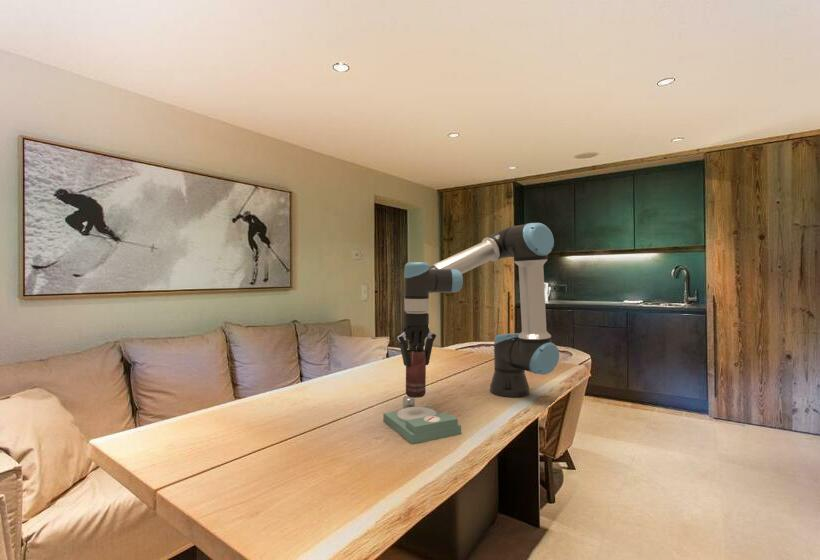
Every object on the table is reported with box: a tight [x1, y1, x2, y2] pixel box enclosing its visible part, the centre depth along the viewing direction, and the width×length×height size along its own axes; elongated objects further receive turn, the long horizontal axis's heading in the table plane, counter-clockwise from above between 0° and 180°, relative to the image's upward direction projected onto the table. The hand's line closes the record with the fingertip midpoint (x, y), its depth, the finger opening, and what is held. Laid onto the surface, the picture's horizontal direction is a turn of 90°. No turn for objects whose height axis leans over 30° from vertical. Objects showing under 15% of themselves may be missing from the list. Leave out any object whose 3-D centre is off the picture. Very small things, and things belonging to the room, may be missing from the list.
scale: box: [383, 405, 462, 445], centre depth 123 cm, size 16×20×5 cm
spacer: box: [402, 396, 416, 409], centre depth 139 cm, size 4×4×4 cm
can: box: [405, 348, 427, 399], centre depth 125 cm, size 6×6×14 cm
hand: (416, 388), depth 125 cm, fingers closed
